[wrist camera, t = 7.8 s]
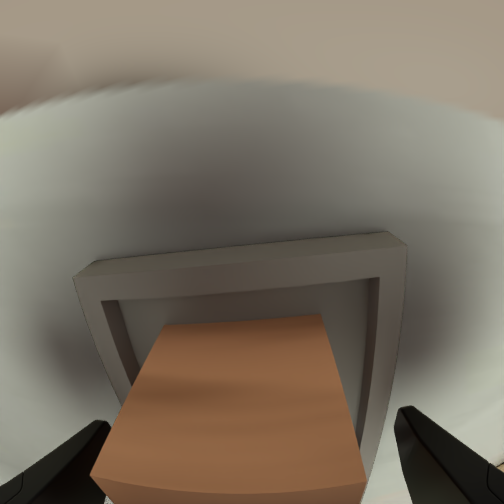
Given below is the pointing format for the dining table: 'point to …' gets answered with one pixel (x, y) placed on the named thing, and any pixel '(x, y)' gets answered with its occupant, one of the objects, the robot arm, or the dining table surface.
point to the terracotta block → (235, 420)
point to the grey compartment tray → (261, 307)
